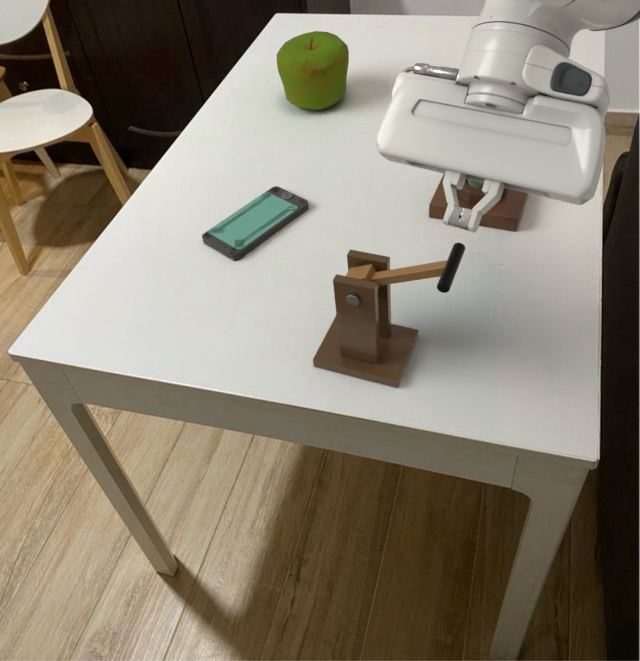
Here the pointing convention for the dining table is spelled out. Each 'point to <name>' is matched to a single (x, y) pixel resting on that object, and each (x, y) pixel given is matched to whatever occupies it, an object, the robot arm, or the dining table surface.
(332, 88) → the apple
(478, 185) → the light button
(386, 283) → the switch lever
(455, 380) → the dining table surface
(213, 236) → the smartphone
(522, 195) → the button block
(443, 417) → the dining table surface
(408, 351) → the switch bracket
